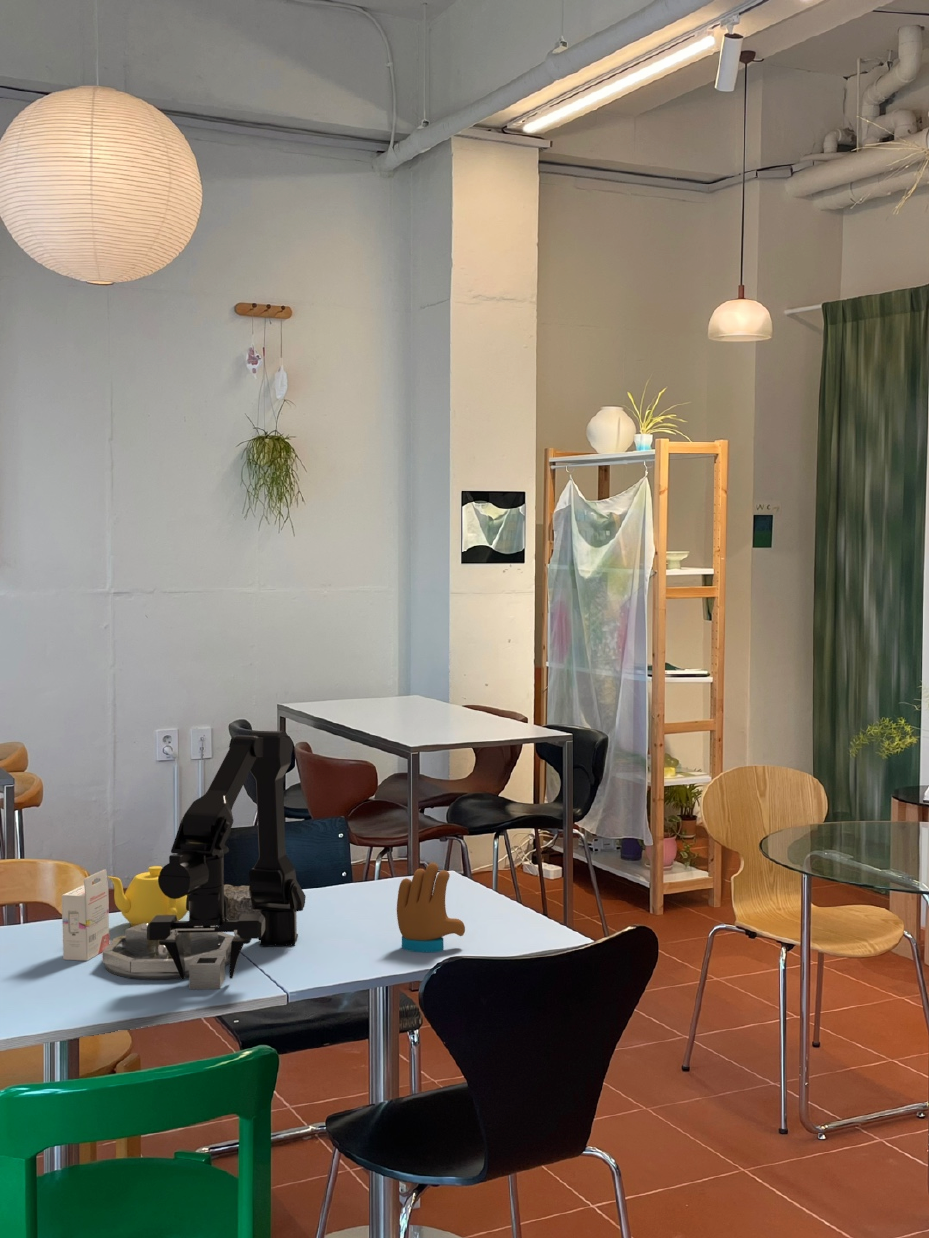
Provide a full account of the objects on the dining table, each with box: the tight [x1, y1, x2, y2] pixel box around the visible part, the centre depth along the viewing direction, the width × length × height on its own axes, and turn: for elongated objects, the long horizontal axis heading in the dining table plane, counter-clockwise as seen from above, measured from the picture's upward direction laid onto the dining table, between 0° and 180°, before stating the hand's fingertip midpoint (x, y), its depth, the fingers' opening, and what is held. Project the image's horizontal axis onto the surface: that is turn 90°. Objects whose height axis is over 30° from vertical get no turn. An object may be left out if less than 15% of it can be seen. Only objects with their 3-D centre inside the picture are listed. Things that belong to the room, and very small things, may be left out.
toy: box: [396, 862, 466, 953], centre depth 229 cm, size 12×7×15 cm, turn 70°
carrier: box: [101, 923, 235, 981], centre depth 222 cm, size 22×22×6 cm
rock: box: [224, 884, 261, 920], centre depth 252 cm, size 13×6×15 cm
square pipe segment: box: [188, 956, 226, 990], centre depth 208 cm, size 5×5×4 cm
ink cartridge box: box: [61, 868, 110, 962], centre depth 226 cm, size 9×5×15 cm, turn 168°
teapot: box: [107, 865, 189, 927], centre depth 245 cm, size 20×15×12 cm
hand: (207, 978), depth 208 cm, fingers open, 8 cm apart
